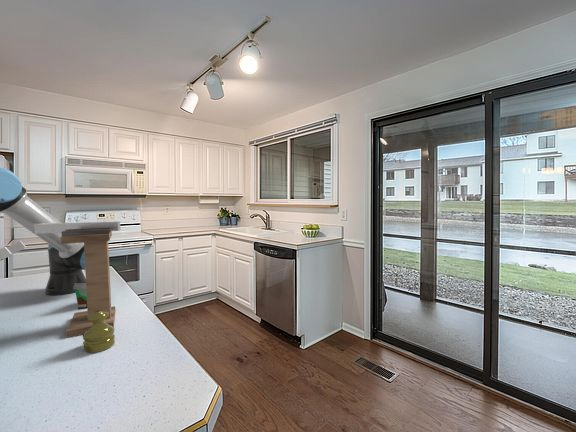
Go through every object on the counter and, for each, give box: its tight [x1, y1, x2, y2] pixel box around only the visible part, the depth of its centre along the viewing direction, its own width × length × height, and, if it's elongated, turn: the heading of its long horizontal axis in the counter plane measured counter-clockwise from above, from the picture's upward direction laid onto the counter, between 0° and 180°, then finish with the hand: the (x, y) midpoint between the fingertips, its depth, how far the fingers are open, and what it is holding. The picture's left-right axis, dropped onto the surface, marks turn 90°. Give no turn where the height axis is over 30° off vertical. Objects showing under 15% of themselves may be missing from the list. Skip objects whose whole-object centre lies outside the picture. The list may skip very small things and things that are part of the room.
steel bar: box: [34, 220, 121, 235], centre depth 98 cm, size 3×24×3 cm, turn 105°
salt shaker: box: [82, 310, 116, 354], centre depth 81 cm, size 7×7×10 cm
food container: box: [73, 282, 87, 310], centre depth 113 cm, size 12×6×10 cm, turn 168°
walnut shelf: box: [61, 227, 116, 339], centre depth 95 cm, size 16×12×32 cm
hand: (16, 246), depth 90 cm, fingers open, 13 cm apart
